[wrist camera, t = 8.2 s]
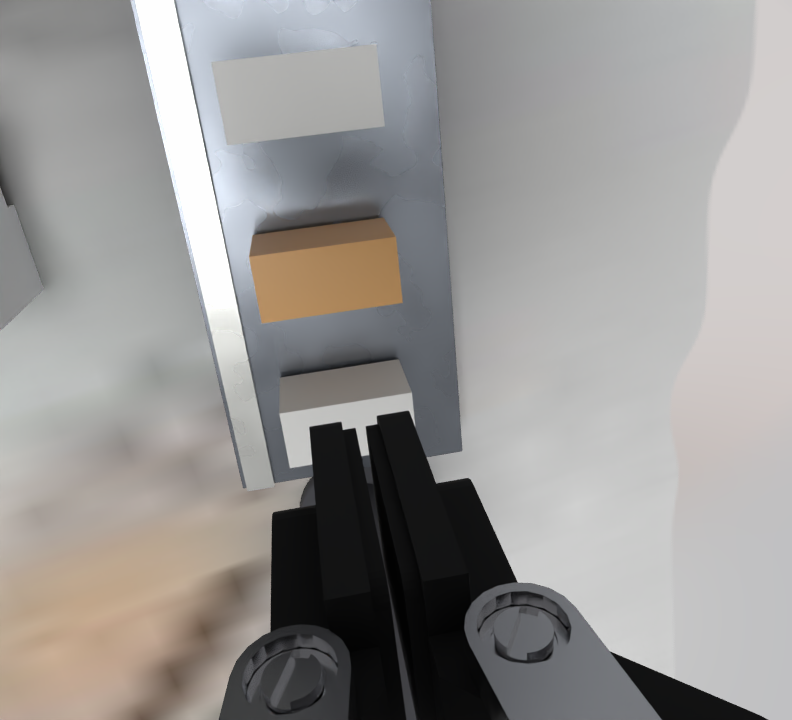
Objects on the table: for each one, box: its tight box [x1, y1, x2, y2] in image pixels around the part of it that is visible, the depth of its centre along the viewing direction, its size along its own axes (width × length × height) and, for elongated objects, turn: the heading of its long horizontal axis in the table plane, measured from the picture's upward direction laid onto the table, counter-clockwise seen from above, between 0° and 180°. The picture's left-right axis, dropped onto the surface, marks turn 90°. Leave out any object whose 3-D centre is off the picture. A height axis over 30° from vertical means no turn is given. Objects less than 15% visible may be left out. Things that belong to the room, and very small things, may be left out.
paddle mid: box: [249, 218, 403, 323], centre depth 25 cm, size 2×5×3 cm, turn 96°
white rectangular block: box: [279, 359, 415, 468], centre depth 27 cm, size 2×5×3 cm, turn 96°
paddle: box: [211, 44, 385, 145], centre depth 23 cm, size 2×5×3 cm, turn 96°
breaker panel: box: [131, 0, 462, 491], centre depth 28 cm, size 20×10×3 cm, turn 6°
